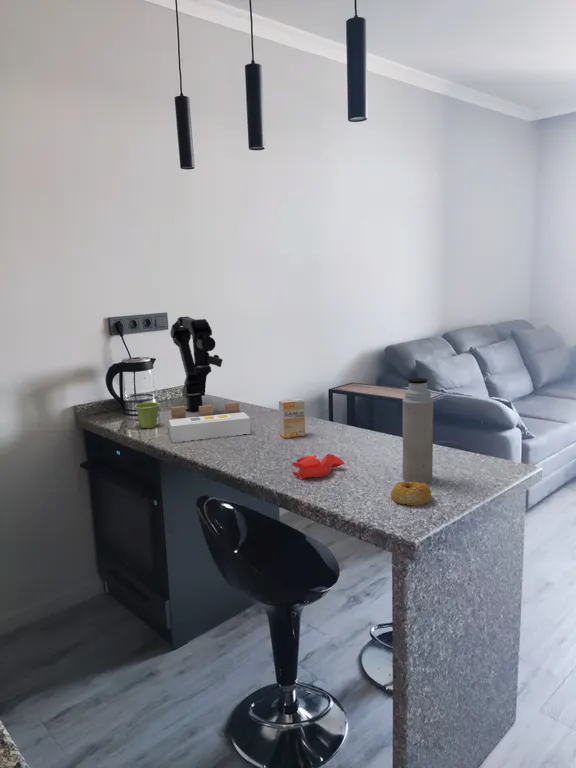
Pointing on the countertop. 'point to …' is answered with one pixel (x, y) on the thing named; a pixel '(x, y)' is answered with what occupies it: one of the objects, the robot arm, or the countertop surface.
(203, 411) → the key middle
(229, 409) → the key
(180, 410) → the key
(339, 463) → the animal figurine
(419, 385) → the thermos bottle
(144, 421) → the plant pot
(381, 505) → the countertop surface
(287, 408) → the supplement box
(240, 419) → the key console
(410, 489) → the bagel
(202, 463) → the countertop surface
